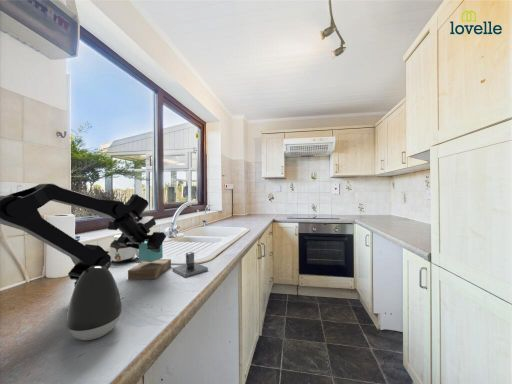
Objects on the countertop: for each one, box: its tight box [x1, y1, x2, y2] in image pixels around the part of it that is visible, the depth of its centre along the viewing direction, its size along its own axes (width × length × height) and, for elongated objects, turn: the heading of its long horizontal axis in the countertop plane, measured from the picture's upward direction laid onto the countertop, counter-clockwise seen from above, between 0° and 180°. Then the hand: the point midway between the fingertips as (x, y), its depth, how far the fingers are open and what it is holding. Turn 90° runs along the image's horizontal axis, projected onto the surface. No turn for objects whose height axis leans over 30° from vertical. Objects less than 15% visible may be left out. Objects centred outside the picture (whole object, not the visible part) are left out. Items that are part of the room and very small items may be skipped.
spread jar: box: [109, 234, 139, 264], centre depth 106 cm, size 12×11×12 cm
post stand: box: [171, 251, 209, 278], centre depth 91 cm, size 10×10×7 cm
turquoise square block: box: [138, 241, 164, 262], centre depth 90 cm, size 6×6×7 cm
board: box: [127, 258, 172, 280], centre depth 90 cm, size 14×10×3 cm
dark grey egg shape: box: [65, 262, 123, 341], centre depth 52 cm, size 10×10×15 cm
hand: (153, 250), depth 91 cm, fingers closed on turquoise square block, 6 cm apart
